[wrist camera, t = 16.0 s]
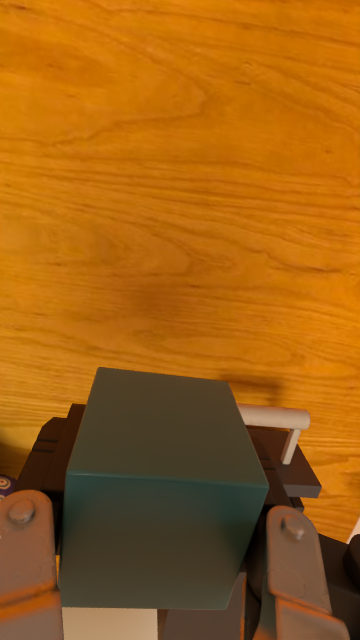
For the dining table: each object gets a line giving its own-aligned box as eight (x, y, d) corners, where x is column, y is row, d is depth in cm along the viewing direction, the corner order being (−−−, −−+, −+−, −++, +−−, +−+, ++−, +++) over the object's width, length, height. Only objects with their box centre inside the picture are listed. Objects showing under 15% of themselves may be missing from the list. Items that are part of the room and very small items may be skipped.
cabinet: (171, 487, 33) (177, 571, 26) (270, 493, 35) (302, 574, 27) (156, 564, 37) (157, 655, 30) (246, 566, 39) (267, 654, 31)
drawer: (203, 375, 28) (216, 423, 22) (306, 385, 29) (343, 433, 23) (175, 508, 33) (180, 575, 28) (263, 513, 34) (285, 577, 29)
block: (97, 365, 11) (64, 471, 7) (228, 380, 12) (271, 486, 7) (87, 470, 13) (55, 609, 8) (203, 478, 13) (227, 611, 9)
